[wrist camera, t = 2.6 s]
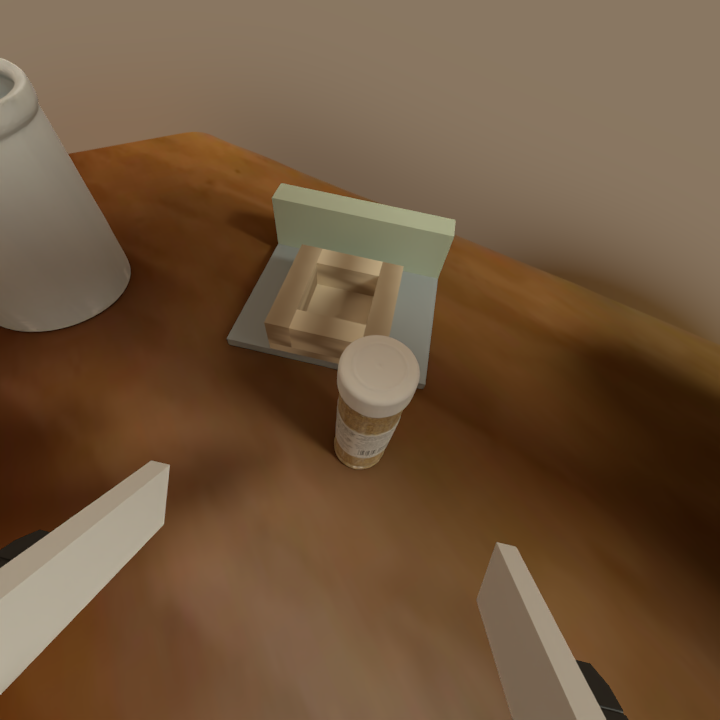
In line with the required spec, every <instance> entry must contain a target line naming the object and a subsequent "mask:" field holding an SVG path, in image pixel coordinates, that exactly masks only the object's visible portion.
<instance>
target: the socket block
mask: <svg viewBox="0 0 720 720" xmlns="http://www.w3.org/2000/svg"><path fill="white" fill-rule="evenodd" d="M403 267H404V266H400V265H395V264H391V263H386V262H382V261H377V260H372V259H368V258H363V257H359V256H354V255H349V254H345V253H340V252H336V251H331V250H326V249H322V248H317V247H313V246H308V245H303V244H302V245H301V247H300V249H299V251H298V253H297V255H296V258H295V260H294V262H293V264H292V266H291V268H290V270H289V272H288V274H287V276H286V278H285V280H284V282H283V284H282V286H281V288H280V291H279V293H278V295H277V297H276V299H275V301H274V303H273V305H272V307H271V309H270V311H269V313H268V315H267V317H266V319H265V322H264V324H265V328H266V333H267V337H268V341H269V345H270V348H272V349H276V350H280V351H285V352H289V353H293V354H298V355H302V356H306V357H311V358H315V359H319V360H324V361H328V362H332V363H337V364H339V360H340V357H341V355H342V353H343V351H344V350H345V349H346V347H347V346H348V345H350V344H351V343H352V342H354V341H355V340H357V339H359V338H362V337H365V336H370V335H382V336H387V337H389V335H390V331H391V326H392V321H393V316H394V311H395V306H396V301H397V297H398V292H399V287H400V282H401V277H402V272H403Z"/></svg>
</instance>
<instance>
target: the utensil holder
mask: <svg viewBox="0 0 720 720" xmlns="http://www.w3.org/2000/svg"><path fill="white" fill-rule="evenodd" d="M130 275H131V268H130V264H129V261H128V259H127V257H126V255H125V253H124V252H123V250H122V248H121V246H120V244H119V243H118V241H117V239H116V237H115V235H114V234H113V232H112V230H111V228H110V226H109V224H108V223H107V221H106V219H105V217H104V215H103V214H102V212H101V210H100V208H99V207H98V205H97V203H96V202H95V200H94V198H93V197H92V195H91V193H90V192H89V190H88V188H87V186H86V185H85V183H84V181H83V179H82V178H81V176H80V174H79V172H78V171H77V169H76V167H75V165H74V164H73V162H72V160H71V158H70V157H69V155H68V153H67V152H66V150H65V148H64V146H63V144H62V143H61V141H60V139H59V138H58V136H57V134H56V132H55V131H54V129H53V127H52V125H51V124H50V122H49V120H48V119H47V117H46V115H45V114H44V112H43V110H42V109H41V107H40V105H39V104H38V98H37V94H36V92H35V90H34V87H33V86H32V84H31V82H30V81H29V79H28V78H27V76H26V75H25V73H24V72H23V71H22V70H21V69H20V68H19V67H18V66H16V65H15V64H13V63H11V62H9V61H7V60H5V59H3V58H0V326H2V327H4V328H8V329H12V330H16V331H24V332H42V331H51V330H57V329H61V328H65V327H69V326H72V325H75V324H78V323H80V322H83V321H85V320H88V319H90V318H92V317H94V316H95V315H97V314H99V313H101V312H102V311H104V310H105V309H106V308H108V307H109V306H110V305H112V304H113V303H114V302H115V301H116V300H117V299H118V298H119V297H120V296H121V294H122V293H123V292H124V290H125V289H126V287H127V285H128V282H129V280H130Z"/></svg>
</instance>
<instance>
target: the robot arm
mask: <svg viewBox="0 0 720 720" xmlns="http://www.w3.org/2000/svg"><path fill="white" fill-rule="evenodd" d="M169 469H170V465H168V464H164V463H160V462H156V461H150V462H149V463H147V464H146V465H144V466H143V467H142V468H140V469H139V470H137V471H136V472H135V473H133V474H132V475H130V476H129V477H128V478H126V479H125V480H123V481H122V482H121V483H119V484H118V485H116V486H115V487H114V488H112V489H111V490H109V491H108V492H107V493H105V494H104V495H102V496H101V497H100V498H98V499H97V500H95V501H94V502H92V503H91V504H90V505H88V506H87V507H85V508H84V509H83V510H81V511H80V512H78V513H77V514H76V515H74V516H73V517H71V518H70V519H69V520H67V521H66V522H64V523H63V524H62V525H60V526H59V527H57V528H56V529H55V530H53V531H52V532H47V531H43V530H38V531H35V532H33V533H31V534H28V535H26V536H24V537H22V538H19V539H17V540H15V541H13V542H12V543H10V544H9V545H7V546H6V547H4V548H3V549H1V550H0V695H1V694H2V692H3V691H4V690H5V689H6V688H7V687H8V686H9V685H10V684H11V683H12V682H13V681H14V680H15V679H16V678H17V677H18V676H19V675H20V674H21V673H22V672H23V671H24V670H25V669H26V667H27V666H28V665H29V664H30V663H31V662H32V661H33V660H34V659H35V658H36V657H37V656H38V655H39V654H40V653H41V652H42V651H43V650H44V649H45V648H46V647H47V646H48V645H49V643H50V642H51V641H52V640H53V639H54V638H55V637H56V636H57V635H58V634H59V633H60V632H61V631H62V630H63V629H64V628H65V627H66V626H67V625H68V624H69V623H70V622H71V621H72V620H73V618H74V617H75V616H76V615H77V614H78V613H79V612H80V611H81V610H82V609H83V608H84V607H85V606H86V605H87V604H88V603H89V602H90V601H91V600H92V599H93V598H94V597H95V596H96V595H97V593H98V592H99V591H100V590H101V589H102V588H103V587H104V586H105V585H106V584H107V583H108V582H109V581H110V580H111V579H112V578H113V577H114V576H115V575H116V574H117V573H118V572H119V571H120V570H121V568H122V567H123V566H124V565H125V564H126V563H127V562H128V561H129V560H130V559H131V558H132V557H133V556H134V555H135V554H136V553H137V552H138V551H139V550H140V549H141V548H142V547H143V546H144V545H145V543H146V542H147V541H148V540H149V539H150V538H151V537H152V536H153V535H154V534H155V533H156V532H157V531H158V530H159V529H160V528H161V527H162V526H163V525H164V518H165V509H166V499H167V489H168V479H169ZM477 603H478V607H479V610H480V613H481V617H482V620H483V623H484V627H485V630H486V633H487V637H488V640H489V643H490V647H491V650H492V653H493V656H494V660H495V663H496V666H497V670H498V673H499V676H500V680H501V683H502V686H503V690H504V693H505V696H506V700H507V703H508V706H509V709H510V713H511V716H512V719H513V720H628V718H627V716H626V715H624V714H623V710H622V708H621V706H620V704H619V703H618V701H617V699H616V697H615V696H614V694H613V692H612V690H611V689H610V687H609V685H608V684H607V683H606V682H605V681H604V679H603V678H602V677H601V676H600V675H599V674H598V672H597V671H596V670H595V669H594V668H593V667H592V665H591V664H590V663H586V662H582V661H578V660H575V659H574V657H573V655H572V653H571V651H570V649H569V647H568V645H567V643H566V641H565V639H564V638H563V636H562V634H561V632H560V630H559V628H558V626H557V624H556V622H555V620H554V618H553V616H552V615H551V613H550V611H549V609H548V607H547V605H546V603H545V601H544V599H543V597H542V595H541V593H540V592H539V590H538V588H537V586H536V584H535V582H534V580H533V578H532V576H531V574H530V572H529V571H528V569H527V567H526V565H525V563H524V561H523V559H522V557H521V555H520V553H519V551H518V549H517V548H516V547H515V546H511V545H506V544H502V543H498V542H496V545H495V548H494V551H493V554H492V557H491V559H490V562H489V565H488V568H487V571H486V574H485V577H484V580H483V583H482V585H481V588H480V591H479V594H478V597H477Z"/></svg>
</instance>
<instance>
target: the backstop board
mask: <svg viewBox="0 0 720 720" xmlns="http://www.w3.org/2000/svg"><path fill="white" fill-rule="evenodd" d="M272 202H273V209H274V216H275V223H276V231H277V238H278V245H277V247H276V249H275V251H274V253H273V255H272V256H271V258H270V260H269V262H268V264H267V265H266V267H265V269H264V271H263V273H262V275H261V276H260V278H259V280H258V282H257V284H256V286H255V287H254V289H253V291H252V293H251V295H250V297H249V298H248V300H247V302H246V304H245V306H244V308H243V309H242V311H241V313H240V315H239V317H238V318H237V320H236V322H235V324H234V326H233V328H232V329H231V331H230V333H229V335H228V337H227V341H228V343H229V345H233V346H238V347H242V348H246V349H251V350H255V351H259V352H264V353H268V354H272V355H277V356H281V357H285V358H290V359H294V360H298V361H303V362H307V363H311V364H316V365H320V366H324V367H329V368H333V369H337V370H338V364H337V363H332V362H328V361H324V360H319V359H315V358H311V357H306V356H302V355H298V354H293V353H289V352H285V351H280V350H276V349H272V348H270V345H269V341H268V337H267V333H266V328H265V324H264V322H265V319H266V317H267V315H268V313H269V311H270V309H271V307H272V305H273V303H274V301H275V299H276V297H277V295H278V293H279V291H280V288H281V286H282V284H283V282H284V280H285V278H286V276H287V274H288V272H289V270H290V268H291V266H292V264H293V262H294V260H295V258H296V255H297V253H298V251H299V249H300V247H301V245H302V244H303V245H308V246H313V247H317V248H322V249H326V250H331V251H336V252H340V253H345V254H349V255H354V256H359V257H363V258H368V259H372V260H377V261H382V262H386V263H391V264H395V265H400V266H404V267H403V272H402V277H401V282H400V287H399V292H398V297H397V301H396V306H395V311H394V316H393V321H392V326H391V331H390V335H389V337H391V338H394V339H396V340H398V341H400V342H401V343H403V344H404V345H406V346H407V347H408V348H409V349H410V350H411V351H412V353H413V354H414V356H415V357H416V359H417V362H418V364H419V369H420V379H419V383H418V386H417V388H419V389H423V388H424V386H425V383H426V374H427V366H428V357H429V349H430V340H431V332H432V323H433V315H434V306H435V298H436V289H437V281H438V277H439V274H440V272H441V269H442V266H443V264H444V261H445V259H446V256H447V254H448V251H449V248H450V246H451V243H452V241H453V238H454V232H455V221H456V220H453V219H448V218H444V217H439V216H434V215H430V214H425V213H420V212H415V211H411V210H406V209H401V208H396V207H392V206H387V205H382V204H378V203H373V202H368V201H363V200H359V199H354V198H349V197H345V196H340V195H335V194H330V193H326V192H321V191H316V190H311V189H307V188H302V187H297V186H292V185H288V184H283V183H281V184H280V186H279V187H278V189H277V191H276V192H275V194H274V195H273V197H272Z"/></svg>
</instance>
